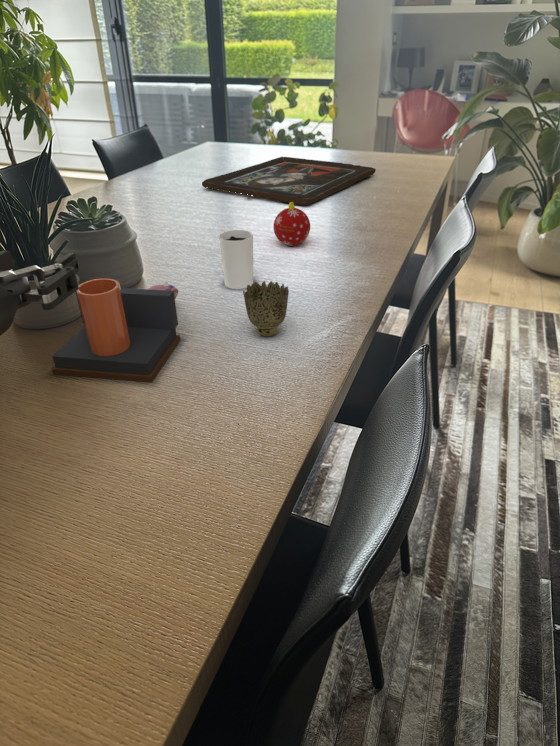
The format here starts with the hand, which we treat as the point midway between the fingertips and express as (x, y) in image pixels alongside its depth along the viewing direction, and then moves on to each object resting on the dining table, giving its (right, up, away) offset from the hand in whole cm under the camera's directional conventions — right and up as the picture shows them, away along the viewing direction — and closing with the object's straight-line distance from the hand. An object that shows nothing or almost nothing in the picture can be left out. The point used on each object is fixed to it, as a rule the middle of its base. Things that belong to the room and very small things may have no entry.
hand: (41, 259), depth 66 cm
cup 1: (+2, -10, +19) cm, 21 cm away
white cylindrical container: (+20, +4, +46) cm, 50 cm away
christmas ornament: (+31, +17, +65) cm, 74 cm away
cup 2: (+26, -7, +28) cm, 39 cm away
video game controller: (+6, -3, +35) cm, 35 cm away
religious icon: (+32, +48, +114) cm, 128 cm away
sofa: (+3, -11, +22) cm, 25 cm away
